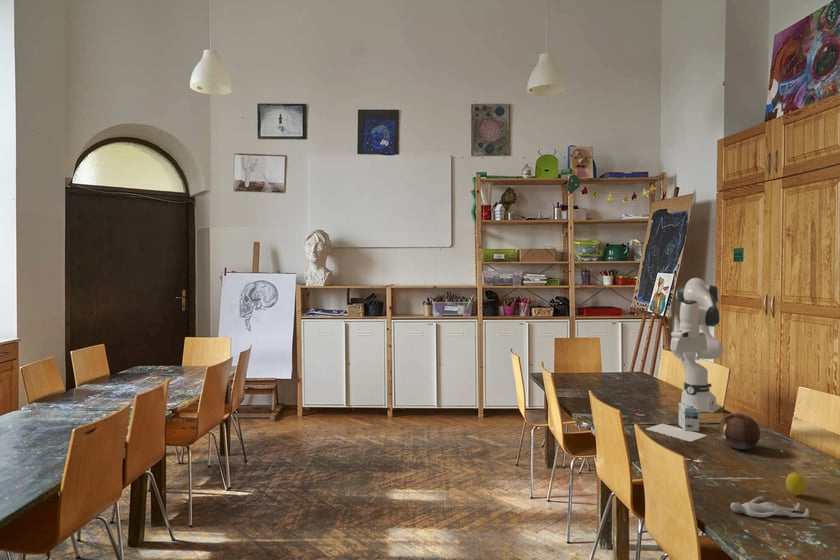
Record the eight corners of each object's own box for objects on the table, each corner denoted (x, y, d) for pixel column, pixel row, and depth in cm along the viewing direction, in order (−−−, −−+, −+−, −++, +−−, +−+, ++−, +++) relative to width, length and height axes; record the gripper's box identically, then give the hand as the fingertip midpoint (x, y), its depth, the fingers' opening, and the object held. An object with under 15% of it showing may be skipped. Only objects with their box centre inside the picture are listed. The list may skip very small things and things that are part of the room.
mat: (662, 424, 255) (662, 423, 255) (707, 436, 236) (707, 435, 236) (645, 429, 247) (645, 428, 247) (691, 441, 229) (690, 441, 229)
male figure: (814, 511, 156) (739, 509, 158) (814, 523, 156) (739, 521, 158) (792, 496, 166) (722, 494, 168) (792, 508, 166) (722, 506, 168)
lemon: (781, 492, 177) (781, 469, 177) (796, 491, 178) (796, 469, 177) (794, 499, 172) (794, 476, 171) (809, 498, 172) (810, 475, 172)
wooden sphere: (754, 444, 225) (754, 410, 225) (764, 456, 211) (765, 420, 210) (715, 440, 230) (715, 407, 229) (723, 452, 216) (723, 417, 215)
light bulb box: (699, 431, 242) (700, 409, 242) (684, 430, 243) (684, 408, 243) (692, 425, 252) (692, 403, 252) (677, 424, 254) (678, 402, 254)
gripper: (700, 331, 261) (700, 358, 261) (668, 333, 254) (668, 360, 254) (710, 332, 255) (710, 360, 255) (678, 334, 248) (678, 362, 248)
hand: (689, 360), depth 255 cm, fingers open, 8 cm apart
